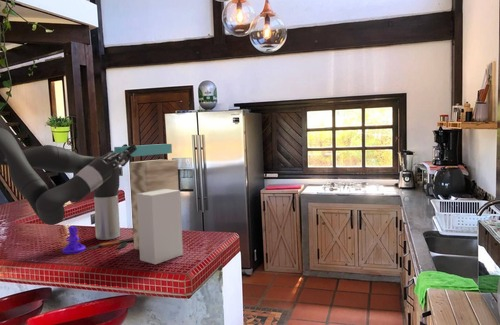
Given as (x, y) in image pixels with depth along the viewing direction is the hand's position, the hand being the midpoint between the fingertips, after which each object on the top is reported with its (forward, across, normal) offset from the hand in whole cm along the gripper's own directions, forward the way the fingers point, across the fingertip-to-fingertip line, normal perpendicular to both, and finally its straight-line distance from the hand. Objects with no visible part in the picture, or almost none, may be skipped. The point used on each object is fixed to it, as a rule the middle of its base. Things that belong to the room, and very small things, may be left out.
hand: (130, 146), depth 139 cm
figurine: (-29, +22, +27) cm, 45 cm away
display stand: (-11, 0, +38) cm, 39 cm away
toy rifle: (-17, +13, +35) cm, 41 cm away
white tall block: (-18, -12, +34) cm, 40 cm away
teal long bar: (+3, 0, +6) cm, 7 cm away
